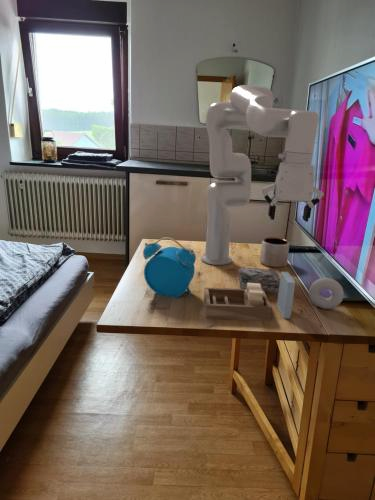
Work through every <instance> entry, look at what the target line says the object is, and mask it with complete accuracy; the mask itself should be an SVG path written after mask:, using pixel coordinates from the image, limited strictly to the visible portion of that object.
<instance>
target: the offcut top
mask: <svg viewBox="0 0 375 500" xmlns="http://www.w3.org/2000/svg"><path fill="white" fill-rule="evenodd" d="M247 295H248V300H257V301H262V297H263V292H262V288H261V285H260V283H247Z"/></svg>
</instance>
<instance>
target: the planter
mask: <svg viewBox="0 0 375 500" xmlns="http://www.w3.org/2000/svg"><path fill="white" fill-rule="evenodd" d="M290 243H291V242H290V241H289V240H287V239H286V238H282V237H275V236H274V237H273V236H272V237H271V236H270V237H264V238H262V241H261V249H260V256H259V262H260V263H261V264H262V265H263V266H266V267H269V268H277V269H278V268H283V267H285V266H287V265H288V259H289V250H290Z"/></svg>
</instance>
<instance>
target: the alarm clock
mask: <svg viewBox="0 0 375 500" xmlns="http://www.w3.org/2000/svg"><path fill="white" fill-rule="evenodd" d="M162 240H171V241H172V242H174V243H175V244H177V245H178V247H177V246H176V247H175V246H166V247H164V248H162V245H161V244H160V243H159V242H160V241H162ZM144 245H145V246H144V248H143V250H142V256H143V258H144V260H145V261H146V260H148V261H147V262H146V264H145V266H144V270H143V275H144V279H145V280H144V281H145V282H146V284H147V285H148V287H149V288H150V289H151V290H152V291H153V293H156V294H158V295H161V296H169V297H171V298H179V297H181V296H183V294H184V293H186V291H187V294H192V291H191V289H190V288H189V287H190V283H191V282H192V280H193V278H194V276H195V263H196V259H197V257H196V254H195V251H194V250H193V249H192V248H190V247H186V246H183V245H182V244H181V243H180V242H178V240H176V239H174V238H172V237H167V236H166V237H161V238H159V239H157V240H156V241H155V242H149V243H147V242H145V243H144Z"/></svg>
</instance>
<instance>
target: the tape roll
mask: <svg viewBox="0 0 375 500" xmlns="http://www.w3.org/2000/svg"><path fill="white" fill-rule="evenodd" d="M322 290H329V291H330V292H331V295H330V296H329V297H324V296H322V295H321V292H322ZM344 293H345V292H344V289H343V287H342V285H341V284H340V283H339V282H338V281H336V280H335V279H332V278H330V277H321V278H318V279H316V280H315V281H313V282H312V284H311V285H310V287H309V289H308V296H309V298H310V299H309V300H310V301H311V302H312V303H313V305H315V306H316V307H318V308H320V309H323V310H325V309H327V310H330V309H333V308H335V307H338V306H339V305H340V304H341V302H342V301H343V299H344Z"/></svg>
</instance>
